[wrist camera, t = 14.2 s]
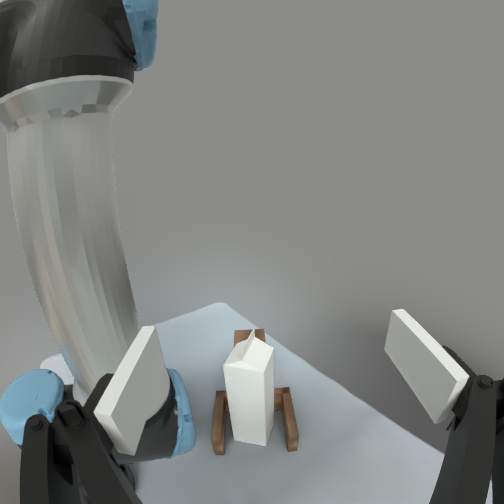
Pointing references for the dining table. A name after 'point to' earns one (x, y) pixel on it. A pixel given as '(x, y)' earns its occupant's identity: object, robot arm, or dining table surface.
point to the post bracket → (280, 402)
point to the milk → (250, 390)
